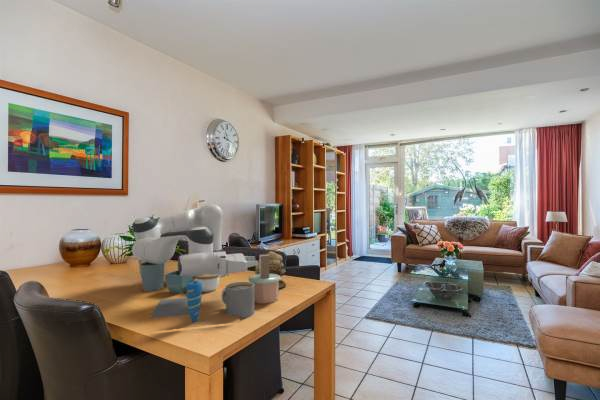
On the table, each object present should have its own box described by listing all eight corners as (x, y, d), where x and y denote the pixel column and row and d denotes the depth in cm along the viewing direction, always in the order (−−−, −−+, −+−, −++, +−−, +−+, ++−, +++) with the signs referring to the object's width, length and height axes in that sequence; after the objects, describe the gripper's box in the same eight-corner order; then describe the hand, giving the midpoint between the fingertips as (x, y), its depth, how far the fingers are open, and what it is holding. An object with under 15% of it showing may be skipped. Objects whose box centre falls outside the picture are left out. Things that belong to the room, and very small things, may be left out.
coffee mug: (260, 312, 109) (259, 285, 109) (237, 321, 102) (237, 291, 102) (237, 304, 118) (237, 278, 118) (215, 311, 110) (214, 284, 111)
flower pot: (164, 294, 131) (164, 274, 131) (178, 289, 140) (177, 269, 140) (181, 296, 129) (181, 275, 129) (194, 290, 137) (194, 270, 137)
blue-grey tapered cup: (165, 289, 140) (165, 263, 140) (140, 292, 135) (140, 265, 135) (163, 284, 148) (163, 259, 149) (140, 287, 143) (139, 262, 144)
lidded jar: (212, 295, 130) (212, 273, 130) (190, 294, 132) (190, 272, 132) (224, 288, 141) (223, 268, 141) (202, 287, 143) (202, 267, 143)
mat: (160, 301, 122) (160, 299, 122) (201, 298, 126) (201, 296, 126) (149, 320, 103) (149, 318, 103) (198, 315, 107) (198, 313, 107)
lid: (247, 277, 129) (246, 253, 129) (277, 274, 132) (277, 252, 132) (250, 285, 116) (249, 259, 116) (283, 282, 120) (283, 257, 120)
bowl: (249, 296, 128) (249, 277, 128) (275, 294, 131) (275, 275, 131) (252, 304, 117) (252, 284, 117) (280, 302, 120) (280, 282, 120)
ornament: (182, 324, 99) (182, 278, 99) (195, 319, 104) (195, 275, 104) (192, 327, 96) (192, 280, 96) (205, 322, 101) (205, 277, 101)
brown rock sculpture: (276, 282, 151) (276, 247, 152) (292, 286, 143) (292, 250, 143) (246, 289, 138) (246, 252, 138) (263, 295, 130) (263, 255, 130)
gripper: (221, 265, 129) (253, 263, 133) (222, 276, 110) (260, 274, 113) (220, 250, 129) (253, 249, 133) (221, 259, 110) (259, 257, 113)
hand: (256, 260), depth 123 cm, fingers open, 8 cm apart
